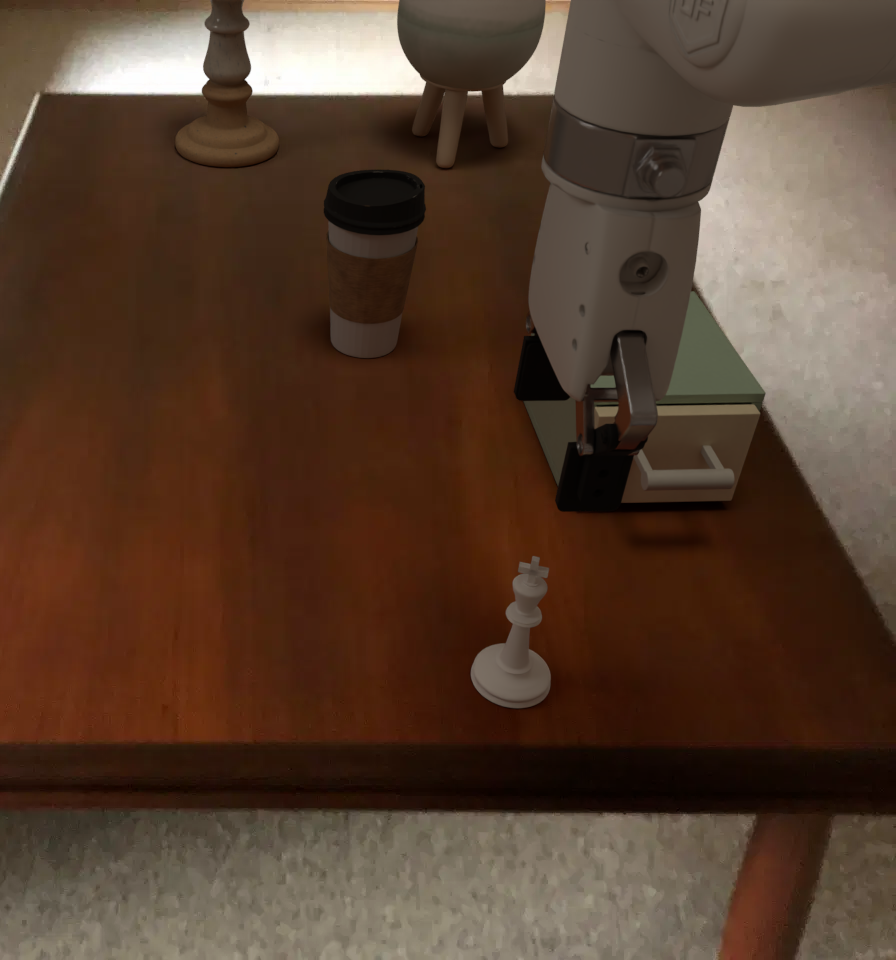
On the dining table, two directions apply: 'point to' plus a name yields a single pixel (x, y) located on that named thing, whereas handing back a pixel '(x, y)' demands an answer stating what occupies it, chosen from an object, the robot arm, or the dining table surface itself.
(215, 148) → the candle holder
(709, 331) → the cabinet
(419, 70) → the planter
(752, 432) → the drawer
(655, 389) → the robot arm
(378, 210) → the coffee cup
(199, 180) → the dining table surface
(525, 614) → the chess piece
